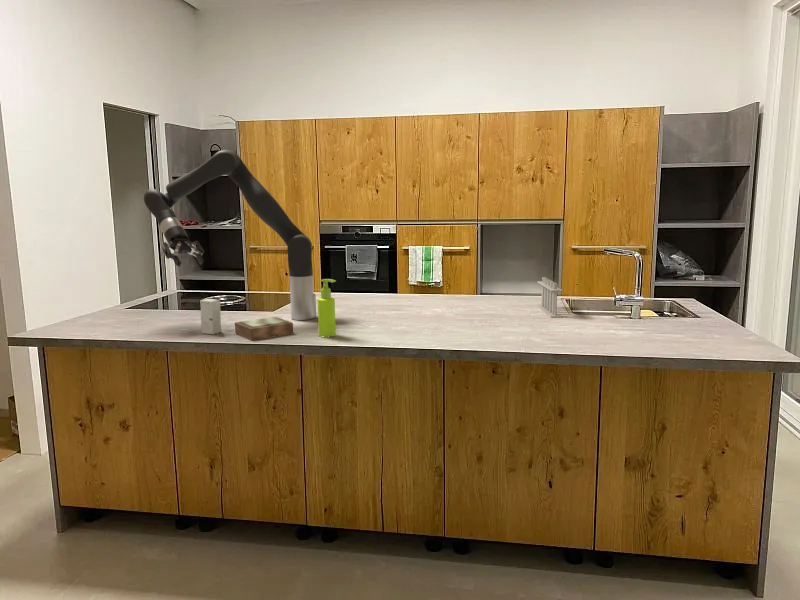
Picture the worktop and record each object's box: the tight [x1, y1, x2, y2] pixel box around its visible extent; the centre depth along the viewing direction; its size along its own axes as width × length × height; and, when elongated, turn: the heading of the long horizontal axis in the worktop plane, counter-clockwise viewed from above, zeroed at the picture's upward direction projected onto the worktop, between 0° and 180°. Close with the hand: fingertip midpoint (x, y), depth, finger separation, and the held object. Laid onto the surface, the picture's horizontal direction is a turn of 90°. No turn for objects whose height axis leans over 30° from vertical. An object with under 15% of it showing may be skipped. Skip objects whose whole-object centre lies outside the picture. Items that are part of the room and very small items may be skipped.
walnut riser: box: [234, 316, 294, 341], centre depth 220 cm, size 16×14×4 cm
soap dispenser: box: [317, 278, 337, 338], centre depth 214 cm, size 6×7×20 cm
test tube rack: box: [535, 276, 563, 319], centre depth 252 cm, size 25×4×13 cm, turn 0°
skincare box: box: [199, 298, 222, 335], centre depth 222 cm, size 6×4×12 cm
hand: (191, 264), depth 227 cm, fingers open, 8 cm apart
